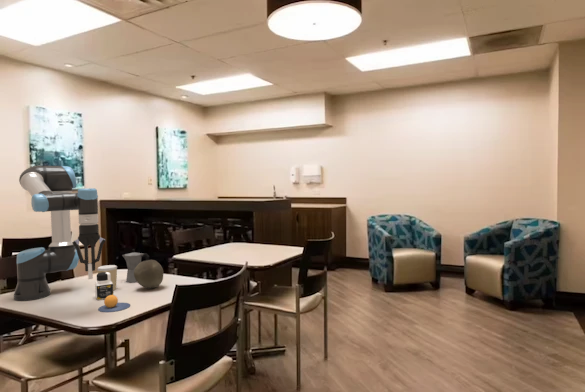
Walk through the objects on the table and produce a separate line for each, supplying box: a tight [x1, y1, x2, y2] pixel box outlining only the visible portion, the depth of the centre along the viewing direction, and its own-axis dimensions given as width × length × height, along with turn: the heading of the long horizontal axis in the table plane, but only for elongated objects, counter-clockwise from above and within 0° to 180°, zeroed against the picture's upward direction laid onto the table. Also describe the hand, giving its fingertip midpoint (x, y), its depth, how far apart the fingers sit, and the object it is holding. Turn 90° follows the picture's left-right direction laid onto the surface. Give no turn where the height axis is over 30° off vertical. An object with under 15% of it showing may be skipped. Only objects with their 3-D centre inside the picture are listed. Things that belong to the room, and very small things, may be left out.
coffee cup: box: [97, 264, 118, 291], centre depth 206 cm, size 9×9×12 cm
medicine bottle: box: [94, 272, 114, 301], centre depth 192 cm, size 7×7×12 cm
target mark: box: [97, 302, 131, 313], centre depth 175 cm, size 13×13×1 cm
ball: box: [103, 294, 119, 308], centre depth 175 cm, size 6×6×6 cm
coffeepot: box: [121, 248, 150, 284], centre depth 224 cm, size 15×9×18 cm, turn 88°
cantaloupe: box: [134, 259, 164, 290], centre depth 206 cm, size 14×14×15 cm
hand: (90, 278), depth 171 cm, fingers closed
